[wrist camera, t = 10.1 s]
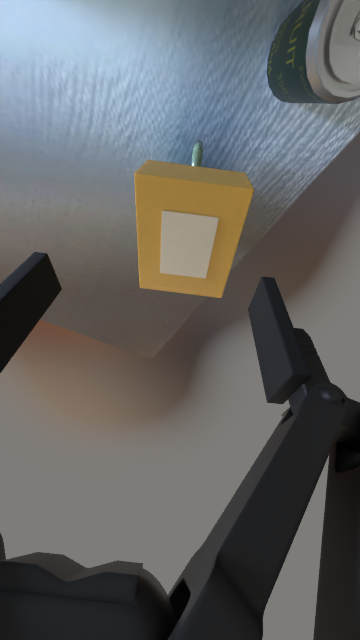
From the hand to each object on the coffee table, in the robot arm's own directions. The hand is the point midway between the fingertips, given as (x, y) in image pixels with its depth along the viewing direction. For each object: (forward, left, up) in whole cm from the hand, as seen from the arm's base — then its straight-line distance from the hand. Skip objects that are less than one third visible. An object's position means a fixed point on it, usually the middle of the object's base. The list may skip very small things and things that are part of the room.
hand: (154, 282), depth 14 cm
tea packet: (0, +2, -11) cm, 11 cm away
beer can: (-14, +5, -19) cm, 24 cm away
